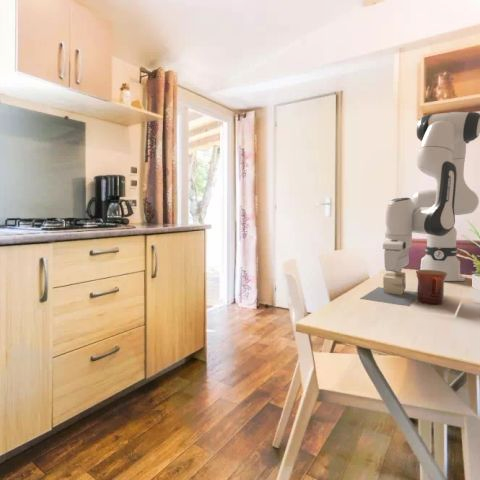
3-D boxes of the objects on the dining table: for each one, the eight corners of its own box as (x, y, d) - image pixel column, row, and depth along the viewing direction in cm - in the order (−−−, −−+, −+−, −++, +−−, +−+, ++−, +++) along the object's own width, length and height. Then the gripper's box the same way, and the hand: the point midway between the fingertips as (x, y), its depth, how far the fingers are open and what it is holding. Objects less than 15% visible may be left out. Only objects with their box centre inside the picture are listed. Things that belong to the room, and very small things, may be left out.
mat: (378, 288, 132) (378, 287, 132) (421, 294, 123) (421, 292, 123) (359, 300, 114) (359, 298, 114) (408, 307, 105) (409, 306, 105)
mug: (411, 299, 115) (412, 269, 115) (439, 300, 114) (441, 270, 113) (422, 309, 104) (424, 275, 103) (454, 311, 102) (456, 277, 101)
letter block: (388, 285, 128) (387, 270, 126) (405, 288, 124) (405, 272, 122) (383, 292, 123) (383, 277, 121) (401, 294, 119) (401, 279, 118)
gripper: (396, 240, 135) (395, 274, 136) (381, 244, 118) (380, 283, 120) (413, 240, 131) (412, 276, 132) (400, 245, 115) (399, 286, 116)
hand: (397, 280), depth 126 cm, fingers closed
